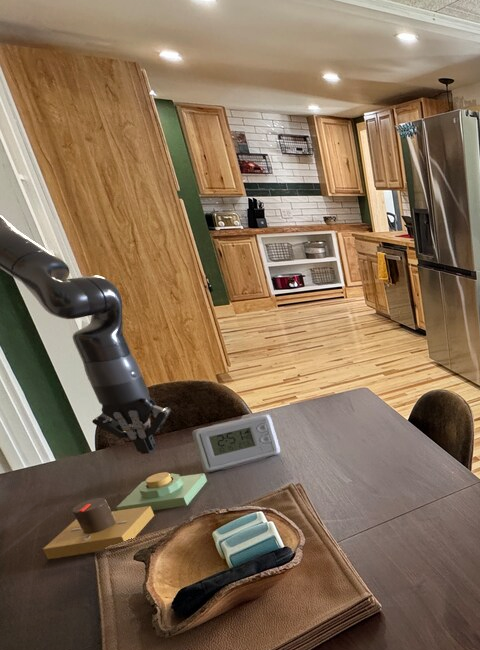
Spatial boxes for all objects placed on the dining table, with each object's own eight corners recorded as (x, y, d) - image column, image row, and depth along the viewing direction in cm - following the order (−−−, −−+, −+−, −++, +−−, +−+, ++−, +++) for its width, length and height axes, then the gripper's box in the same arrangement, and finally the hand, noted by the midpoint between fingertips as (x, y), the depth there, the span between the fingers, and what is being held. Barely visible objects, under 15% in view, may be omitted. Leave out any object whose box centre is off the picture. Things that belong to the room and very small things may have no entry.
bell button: (144, 490, 103) (141, 483, 102) (154, 480, 106) (151, 473, 106) (166, 487, 104) (163, 480, 103) (175, 477, 107) (173, 471, 107)
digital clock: (200, 476, 114) (186, 437, 110) (210, 458, 122) (196, 421, 118) (279, 460, 121) (268, 423, 117) (283, 445, 128) (273, 409, 124)
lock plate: (48, 559, 88) (41, 548, 87) (84, 526, 97) (78, 515, 96) (126, 546, 92) (121, 535, 91) (154, 515, 100) (150, 505, 99)
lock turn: (93, 520, 95) (82, 498, 93) (121, 516, 96) (111, 495, 94) (76, 535, 91) (64, 512, 89) (105, 531, 92) (94, 509, 90)
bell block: (119, 515, 100) (112, 500, 99) (146, 489, 109) (139, 474, 108) (187, 505, 104) (181, 490, 102) (207, 480, 112) (201, 466, 111)
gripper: (165, 368, 101) (192, 439, 107) (87, 374, 97) (121, 448, 104) (146, 380, 94) (176, 455, 101) (62, 388, 90) (99, 465, 97)
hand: (148, 451), depth 102 cm, fingers closed
